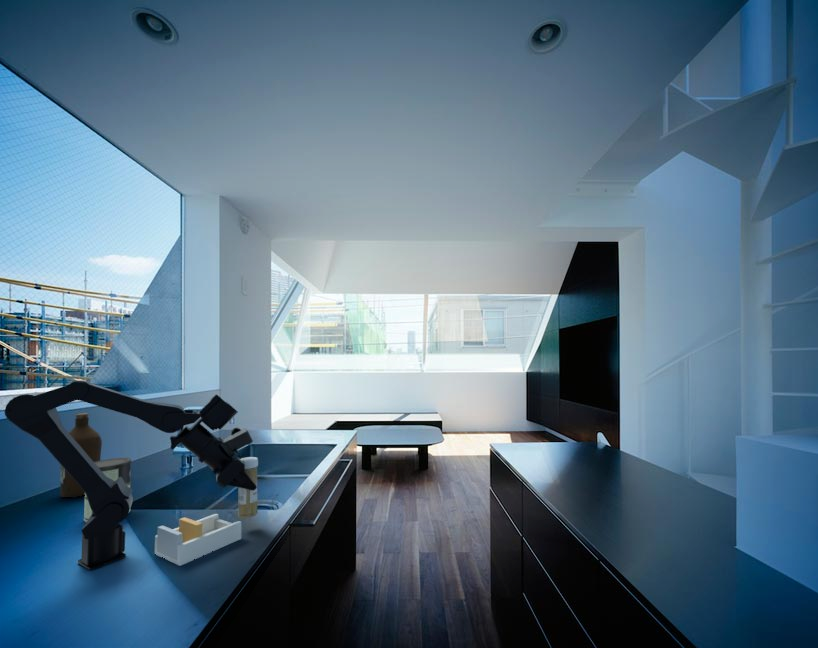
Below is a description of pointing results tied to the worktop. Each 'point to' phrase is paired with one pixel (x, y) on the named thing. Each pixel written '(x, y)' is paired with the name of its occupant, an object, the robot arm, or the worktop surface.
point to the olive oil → (89, 444)
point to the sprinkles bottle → (245, 496)
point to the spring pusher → (189, 529)
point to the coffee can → (111, 476)
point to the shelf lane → (196, 540)
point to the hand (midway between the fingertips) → (254, 486)
